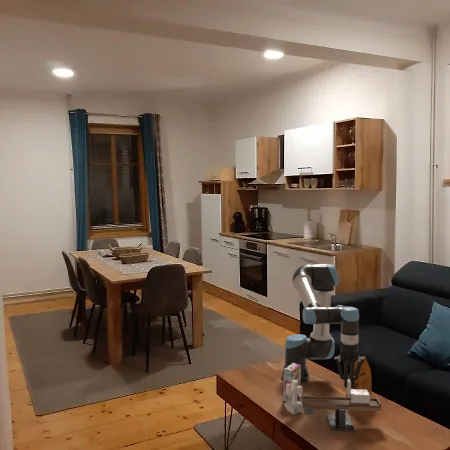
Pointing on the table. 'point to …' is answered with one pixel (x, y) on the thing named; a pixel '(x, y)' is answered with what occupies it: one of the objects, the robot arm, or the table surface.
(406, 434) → the table surface
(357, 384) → the coffee package
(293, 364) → the candy bar box
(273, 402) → the table surface
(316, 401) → the beam
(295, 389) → the figurine
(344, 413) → the pivot stand
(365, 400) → the block
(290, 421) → the table surface
